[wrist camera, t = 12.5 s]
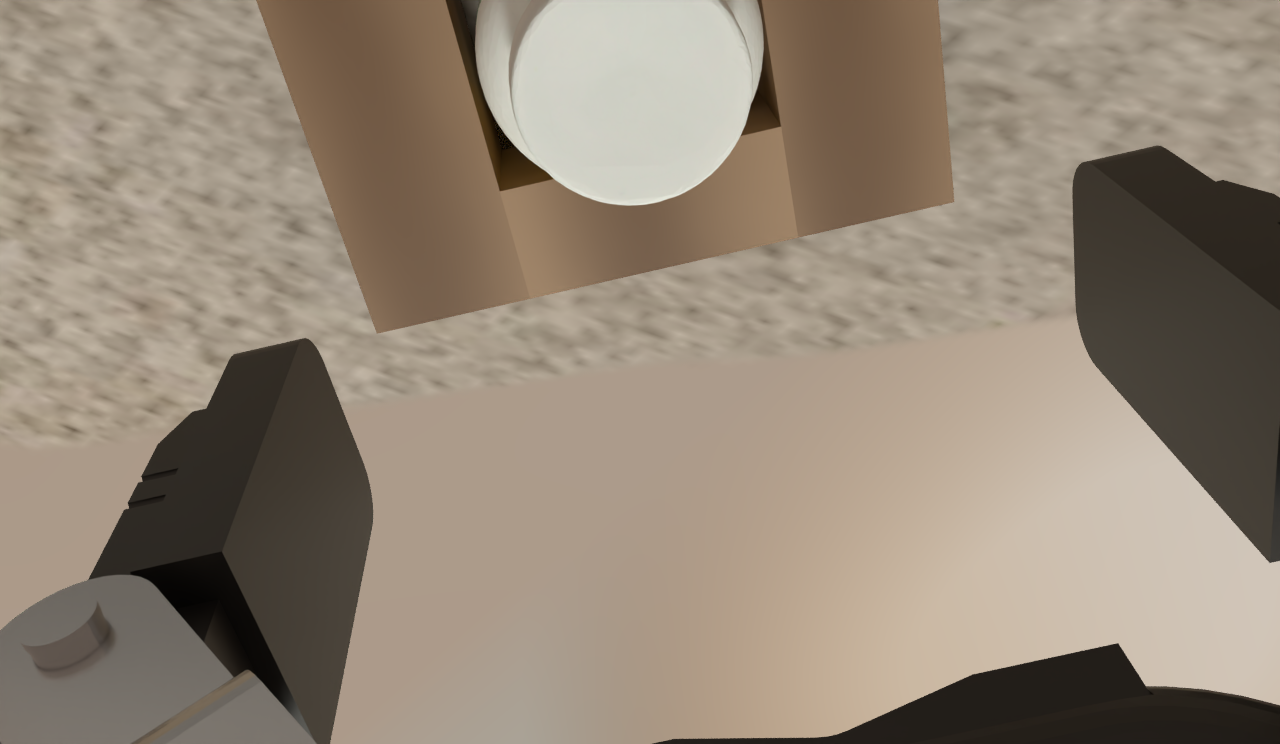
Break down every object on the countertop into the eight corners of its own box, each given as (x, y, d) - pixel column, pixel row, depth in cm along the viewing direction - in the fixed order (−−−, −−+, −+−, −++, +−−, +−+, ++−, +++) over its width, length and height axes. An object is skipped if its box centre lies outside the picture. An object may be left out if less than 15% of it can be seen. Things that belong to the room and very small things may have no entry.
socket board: (865, -381, 24) (906, -393, 22) (917, 160, 30) (954, 201, 28) (214, -224, 25) (177, -218, 22) (389, 281, 31) (377, 333, 28)
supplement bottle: (683, 117, 29) (746, 273, 21) (468, 75, 28) (443, 219, 20) (739, -110, 27) (836, -38, 18) (506, -166, 26) (495, -117, 17)
